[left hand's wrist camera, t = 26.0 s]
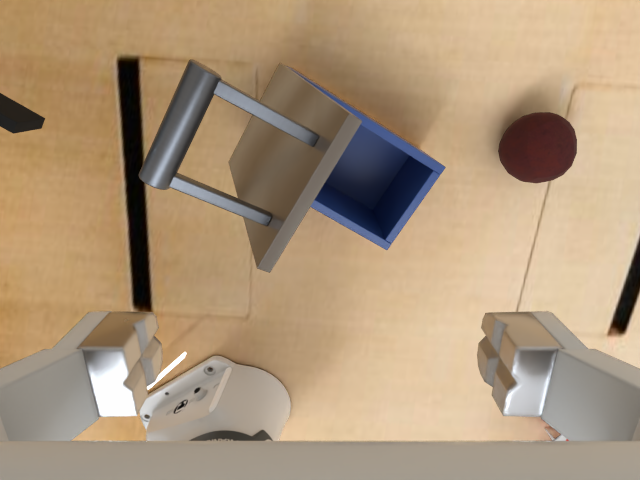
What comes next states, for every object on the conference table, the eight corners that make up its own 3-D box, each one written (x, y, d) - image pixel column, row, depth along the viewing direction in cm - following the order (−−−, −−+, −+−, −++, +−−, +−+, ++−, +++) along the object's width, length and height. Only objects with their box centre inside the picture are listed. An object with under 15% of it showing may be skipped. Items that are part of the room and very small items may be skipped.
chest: (419, 148, 49) (446, 167, 39) (373, 217, 52) (387, 250, 42) (292, 68, 46) (284, 64, 35) (251, 145, 49) (233, 163, 38)
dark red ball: (546, 98, 47) (583, 102, 40) (560, 162, 49) (597, 175, 43) (482, 126, 48) (508, 133, 41) (499, 186, 50) (526, 203, 44)
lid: (362, 121, 21) (208, 26, 17) (270, 273, 24) (121, 221, 20) (288, 67, 35) (196, 9, 31) (236, 166, 38) (147, 124, 34)
